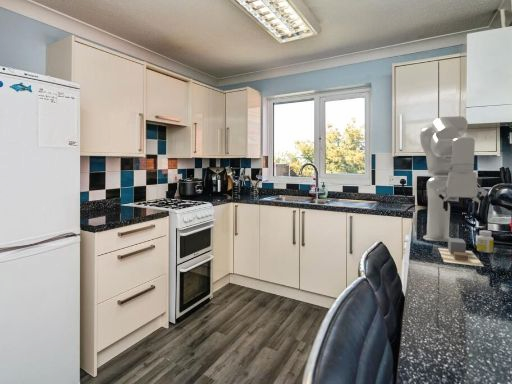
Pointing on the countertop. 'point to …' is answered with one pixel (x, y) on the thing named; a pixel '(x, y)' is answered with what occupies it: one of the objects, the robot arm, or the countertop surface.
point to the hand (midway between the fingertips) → (460, 211)
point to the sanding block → (456, 245)
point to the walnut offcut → (460, 256)
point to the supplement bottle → (485, 241)
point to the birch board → (450, 259)
